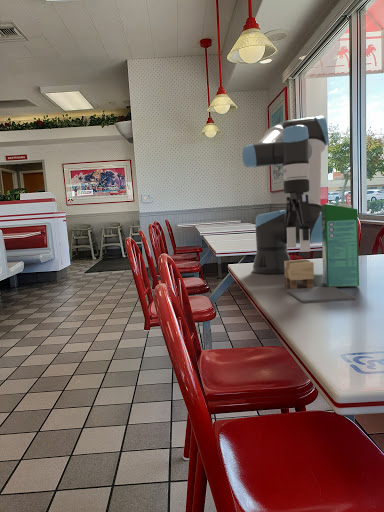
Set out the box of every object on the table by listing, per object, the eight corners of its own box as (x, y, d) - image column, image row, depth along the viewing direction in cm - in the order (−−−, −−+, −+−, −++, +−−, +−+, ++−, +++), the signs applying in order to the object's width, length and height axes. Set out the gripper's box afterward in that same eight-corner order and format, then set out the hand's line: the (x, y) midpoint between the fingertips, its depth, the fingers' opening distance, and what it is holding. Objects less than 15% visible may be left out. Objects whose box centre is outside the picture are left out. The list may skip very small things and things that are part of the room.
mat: (287, 291, 115) (287, 289, 115) (333, 288, 115) (333, 286, 115) (302, 302, 101) (302, 300, 101) (354, 299, 101) (354, 297, 101)
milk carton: (359, 286, 113) (357, 201, 112) (327, 286, 115) (324, 203, 113) (352, 282, 122) (351, 203, 120) (323, 282, 124) (321, 205, 122)
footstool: (285, 285, 123) (284, 260, 122) (306, 283, 123) (306, 259, 122) (291, 290, 116) (290, 264, 115) (314, 288, 116) (313, 262, 115)
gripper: (274, 183, 128) (276, 246, 130) (296, 176, 103) (298, 254, 106) (296, 182, 128) (297, 245, 131) (323, 174, 103) (325, 252, 106)
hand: (298, 249), depth 118 cm, fingers open, 13 cm apart
